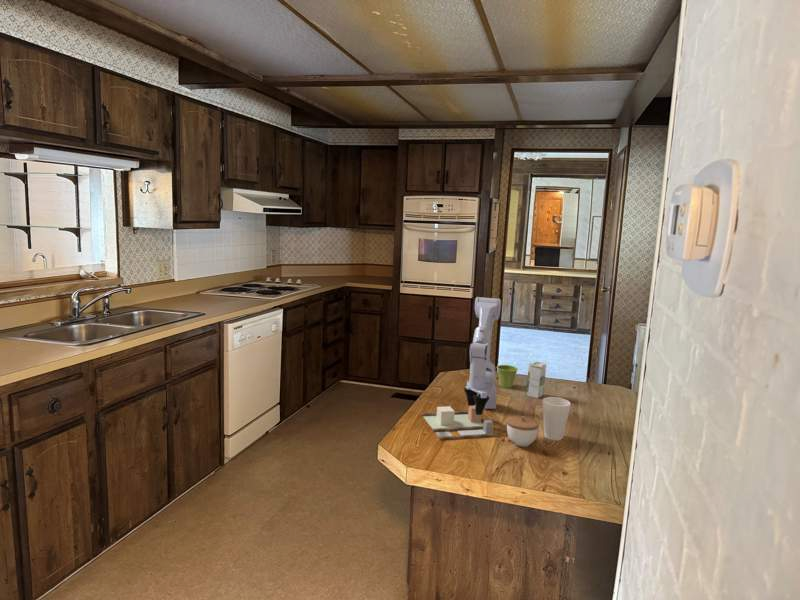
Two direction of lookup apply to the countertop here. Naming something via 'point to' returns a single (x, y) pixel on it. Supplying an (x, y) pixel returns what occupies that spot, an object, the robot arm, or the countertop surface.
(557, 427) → the foam cup
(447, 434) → the lane rails
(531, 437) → the lidded jar
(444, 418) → the cream cube
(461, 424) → the green flat panel
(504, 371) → the plant pot
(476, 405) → the robot arm
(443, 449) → the countertop surface
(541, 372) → the syrup box
